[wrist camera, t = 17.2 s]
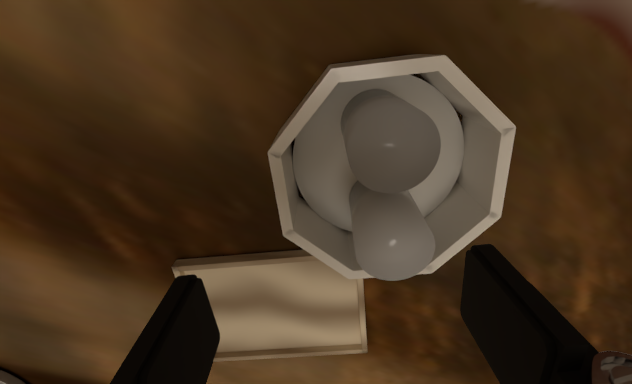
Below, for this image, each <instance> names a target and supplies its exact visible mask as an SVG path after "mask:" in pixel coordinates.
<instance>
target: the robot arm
mask: <svg viewBox="0 0 632 384" xmlns="http://www.w3.org/2000/svg"><path fill="white" fill-rule="evenodd" d="M460 310H461V316H462V318H463V320H464V322H465V324H466V326H467V327H468V329H469V331H470V332H471V334H472V336H473V338H474V339H475V341H476V343H477V344H478V346H479V348H480V350H481V351H482V353H483V355H484V357H485V358H486V360H487V362H488V363H489V365H490V367H491V369H492V370H493V372H494V374H495V375H496V377H497V379H498V381H499V382H500V384H632V355H629V354H625V353H622V352H616V351H604V352H598V351H597V350H596V349H595V348H594V347H593V346H592V345H591V344H590V343H589V342H588V341H587V340H586V339H585V338H584V337H583V336H582V335H581V334H580V333H579V332H578V331H577V330H576V329H575V328H574V327H573V326H572V325H571V324H570V323H569V322H568V321H567V320H566V319H565V318H564V317H563V316H562V315H561V314H560V313H559V312H558V310H557V309H556V308H555V307H554V306H553V305H552V304H551V303H550V302H549V301H548V300H547V299H546V298H545V297H544V296H543V295H542V294H541V293H540V292H539V291H538V290H537V289H536V288H535V287H534V286H533V285H532V284H531V283H529V282H528V281H527V280H526V279H525V278H524V277H523V276H522V275H521V274H520V273H519V272H518V271H517V270H516V269H515V268H514V267H513V266H512V265H511V264H510V262H509V261H508V260H507V259H506V258H505V257H504V256H503V255H502V254H501V253H500V252H499V251H498V250H497V249H496V248H495V247H494V246H493V245H491V244H484V245H474V246H472V247H471V250H468V251H467V252H466V258H465V268H464V278H463V288H462V298H461V308H460ZM219 342H220V332H219V329H218V326H217V323H216V320H215V317H214V314H213V311H212V308H211V305H210V302H209V299H208V296H207V293H206V290H205V287H204V284H203V281H202V279H201V278H197V276H196V275H194V274H192V275H182V276H178V277H176V279H175V280H174V282H173V283H172V285H171V287H170V288H169V290H168V291H167V293H166V295H165V296H164V298H163V299H162V301H161V303H160V304H159V306H158V307H157V309H156V311H155V312H154V314H153V315H152V317H151V319H150V320H149V322H148V323H147V325H146V326H145V328H144V330H143V331H142V333H141V334H140V336H139V338H138V339H137V341H136V342H135V344H134V346H133V347H132V349H131V351H130V352H129V354H128V355H127V357H126V359H125V360H124V362H123V363H122V365H121V367H120V368H119V370H118V371H117V373H116V375H115V376H114V378H113V379H112V381H111V383H110V384H206V382H207V379H208V376H209V373H210V370H211V367H212V364H213V360H214V357H215V354H216V351H217V348H218V345H219ZM0 384H26V383H24V382H23V381H22V380H20V379H18V378H16V377H15V376H13V375H11V374H9V373H7V372H4V371H2V370H0Z"/></svg>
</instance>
